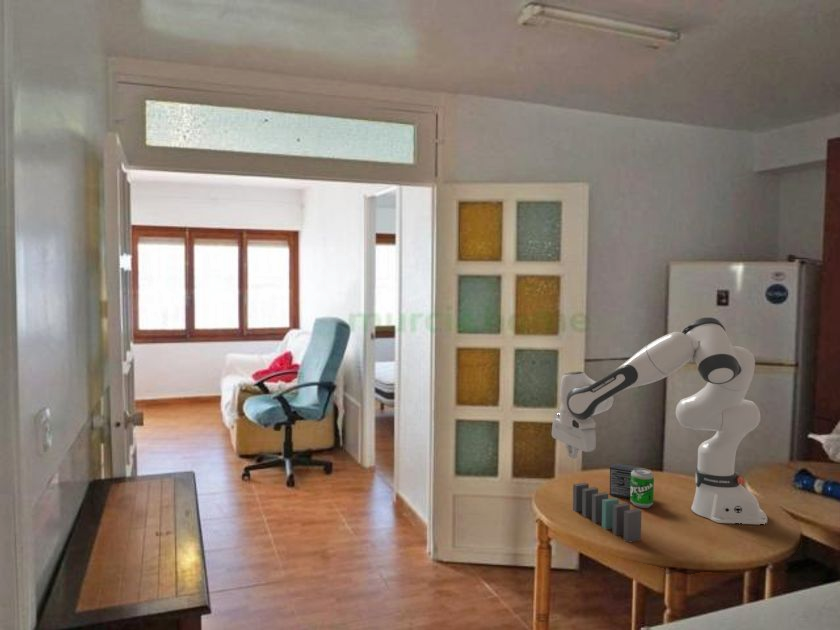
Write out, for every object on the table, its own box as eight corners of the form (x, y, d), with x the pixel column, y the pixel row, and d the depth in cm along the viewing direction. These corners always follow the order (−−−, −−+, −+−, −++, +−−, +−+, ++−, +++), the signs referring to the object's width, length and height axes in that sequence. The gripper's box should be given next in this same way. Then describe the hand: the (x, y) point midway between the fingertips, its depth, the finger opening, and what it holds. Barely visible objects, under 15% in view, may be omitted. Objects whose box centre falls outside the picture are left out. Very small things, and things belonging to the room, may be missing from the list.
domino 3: (591, 521, 196) (592, 494, 195) (604, 518, 197) (604, 492, 197) (595, 523, 194) (595, 496, 193) (607, 520, 196) (608, 493, 195)
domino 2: (582, 515, 200) (582, 489, 200) (594, 513, 202) (594, 487, 201) (585, 517, 198) (585, 490, 198) (597, 515, 200) (598, 488, 200)
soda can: (631, 499, 214) (632, 466, 213) (654, 502, 211) (654, 469, 210) (628, 506, 207) (629, 472, 207) (652, 510, 204) (652, 475, 203)
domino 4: (601, 527, 191) (602, 499, 190) (614, 524, 193) (614, 497, 192) (605, 529, 189) (605, 501, 189) (618, 526, 191) (618, 499, 190)
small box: (643, 495, 218) (643, 466, 218) (639, 500, 213) (639, 471, 212) (613, 489, 224) (614, 462, 223) (608, 495, 218) (609, 466, 218)
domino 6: (623, 540, 182) (624, 511, 181) (636, 537, 184) (637, 508, 183) (627, 542, 180) (628, 513, 179) (640, 539, 182) (641, 510, 181)
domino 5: (612, 533, 186) (612, 505, 186) (625, 530, 188) (625, 502, 188) (616, 535, 185) (616, 507, 184) (629, 533, 187) (629, 504, 186)
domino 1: (572, 510, 205) (573, 484, 204) (585, 507, 207) (585, 482, 206) (576, 512, 203) (576, 486, 202) (588, 509, 205) (588, 484, 204)
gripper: (547, 412, 215) (547, 450, 216) (583, 425, 197) (583, 467, 198) (562, 410, 218) (561, 448, 219) (599, 423, 199) (598, 464, 200)
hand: (572, 457), depth 208 cm, fingers closed
